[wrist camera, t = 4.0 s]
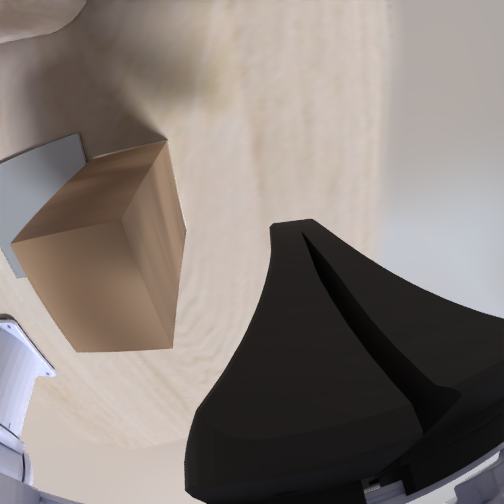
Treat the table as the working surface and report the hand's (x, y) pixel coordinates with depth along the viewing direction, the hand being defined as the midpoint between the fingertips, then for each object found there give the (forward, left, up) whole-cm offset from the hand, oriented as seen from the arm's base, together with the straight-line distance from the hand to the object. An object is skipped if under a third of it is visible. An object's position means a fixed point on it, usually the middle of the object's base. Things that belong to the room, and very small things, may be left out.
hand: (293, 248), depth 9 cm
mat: (-13, 0, -7) cm, 15 cm away
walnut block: (-6, 0, -7) cm, 9 cm away
